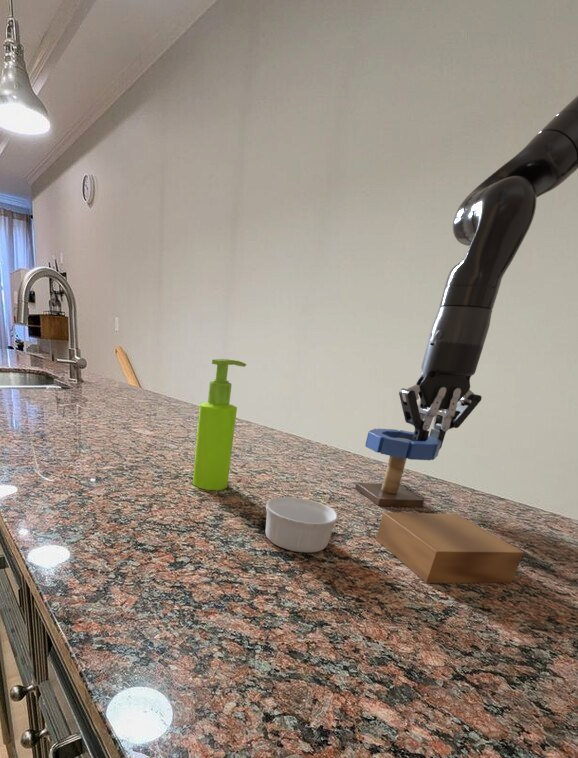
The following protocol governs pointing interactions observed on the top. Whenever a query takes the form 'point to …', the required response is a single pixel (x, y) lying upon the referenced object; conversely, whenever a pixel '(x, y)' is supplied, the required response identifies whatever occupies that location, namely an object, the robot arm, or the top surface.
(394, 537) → the platform
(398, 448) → the ring
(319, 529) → the ramekin
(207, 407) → the soap dispenser
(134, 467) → the top surface
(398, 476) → the post
